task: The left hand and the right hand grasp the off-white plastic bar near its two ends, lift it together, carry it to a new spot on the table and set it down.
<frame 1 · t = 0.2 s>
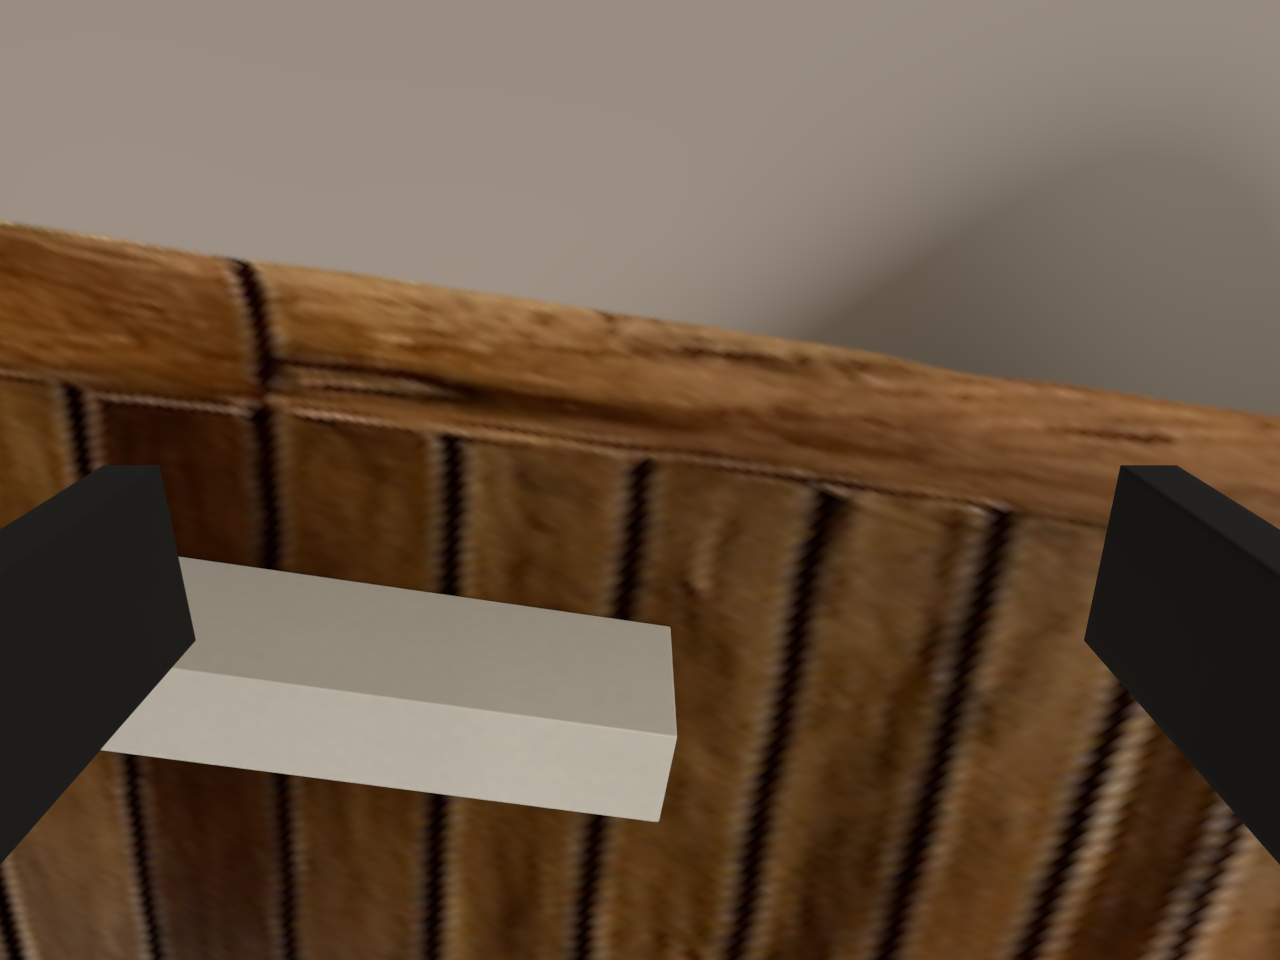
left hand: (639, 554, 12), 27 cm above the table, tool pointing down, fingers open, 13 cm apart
bar: (36, 576, 43), on the table
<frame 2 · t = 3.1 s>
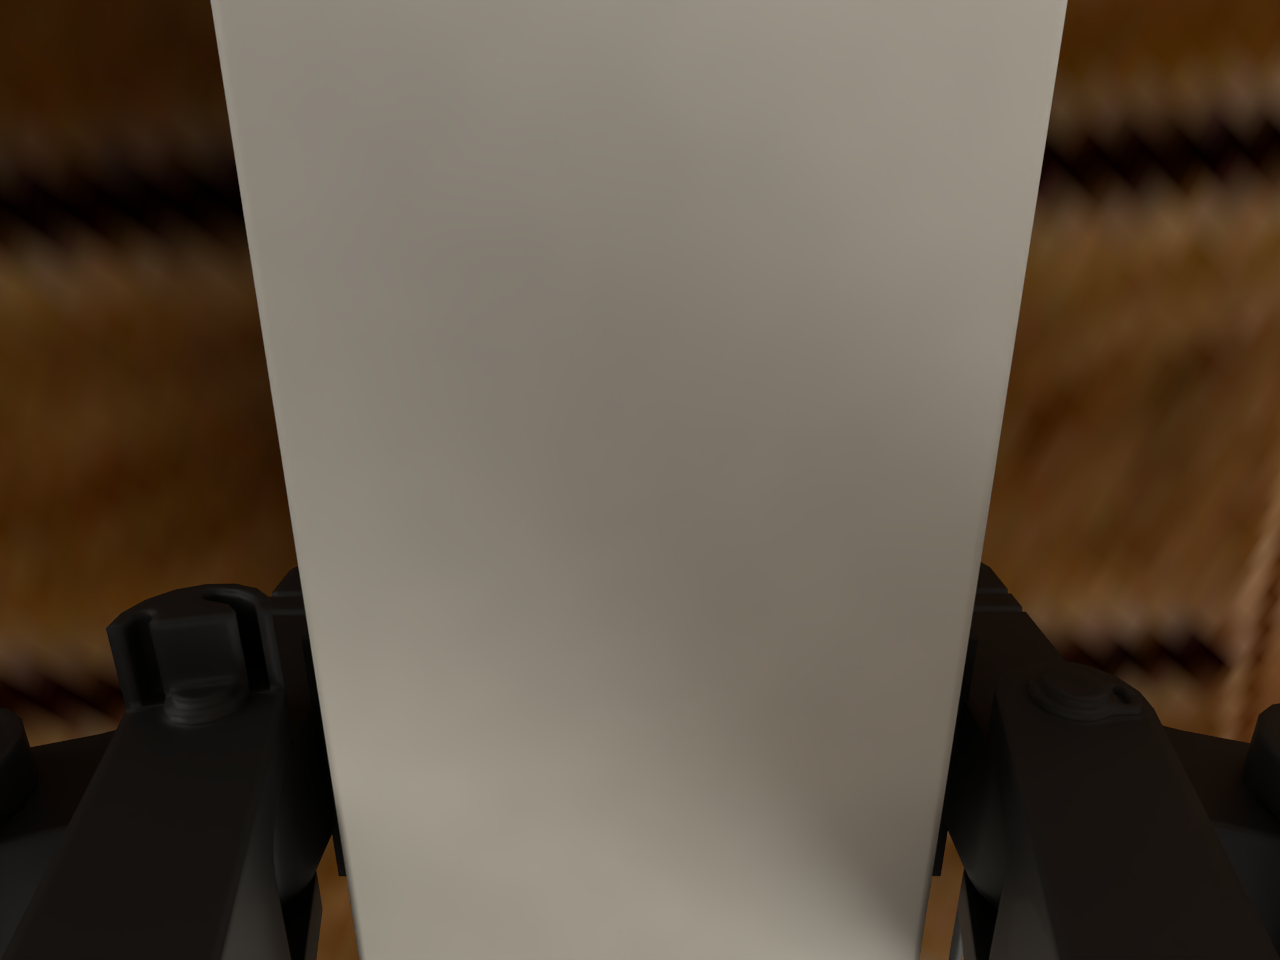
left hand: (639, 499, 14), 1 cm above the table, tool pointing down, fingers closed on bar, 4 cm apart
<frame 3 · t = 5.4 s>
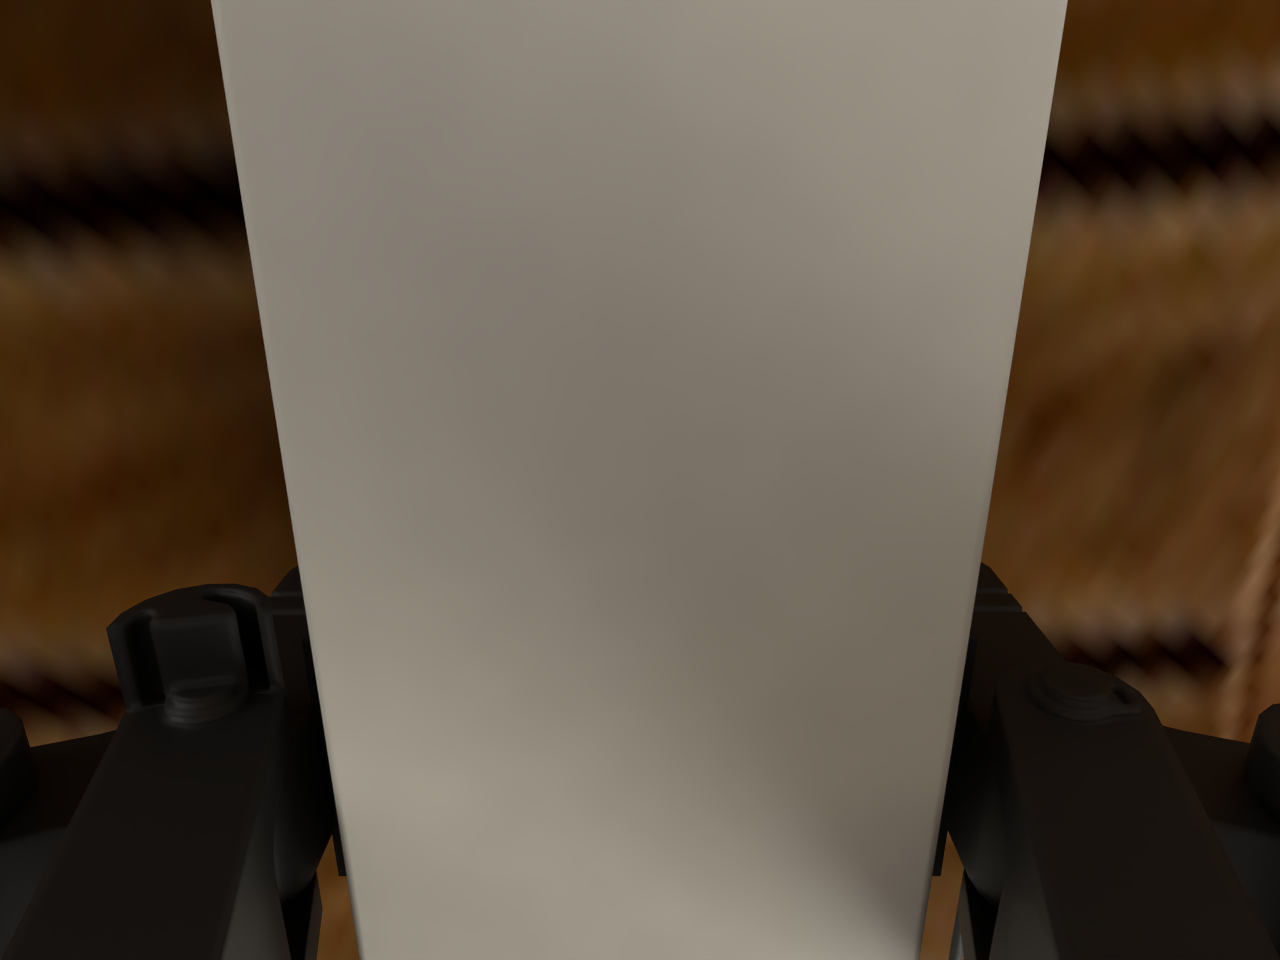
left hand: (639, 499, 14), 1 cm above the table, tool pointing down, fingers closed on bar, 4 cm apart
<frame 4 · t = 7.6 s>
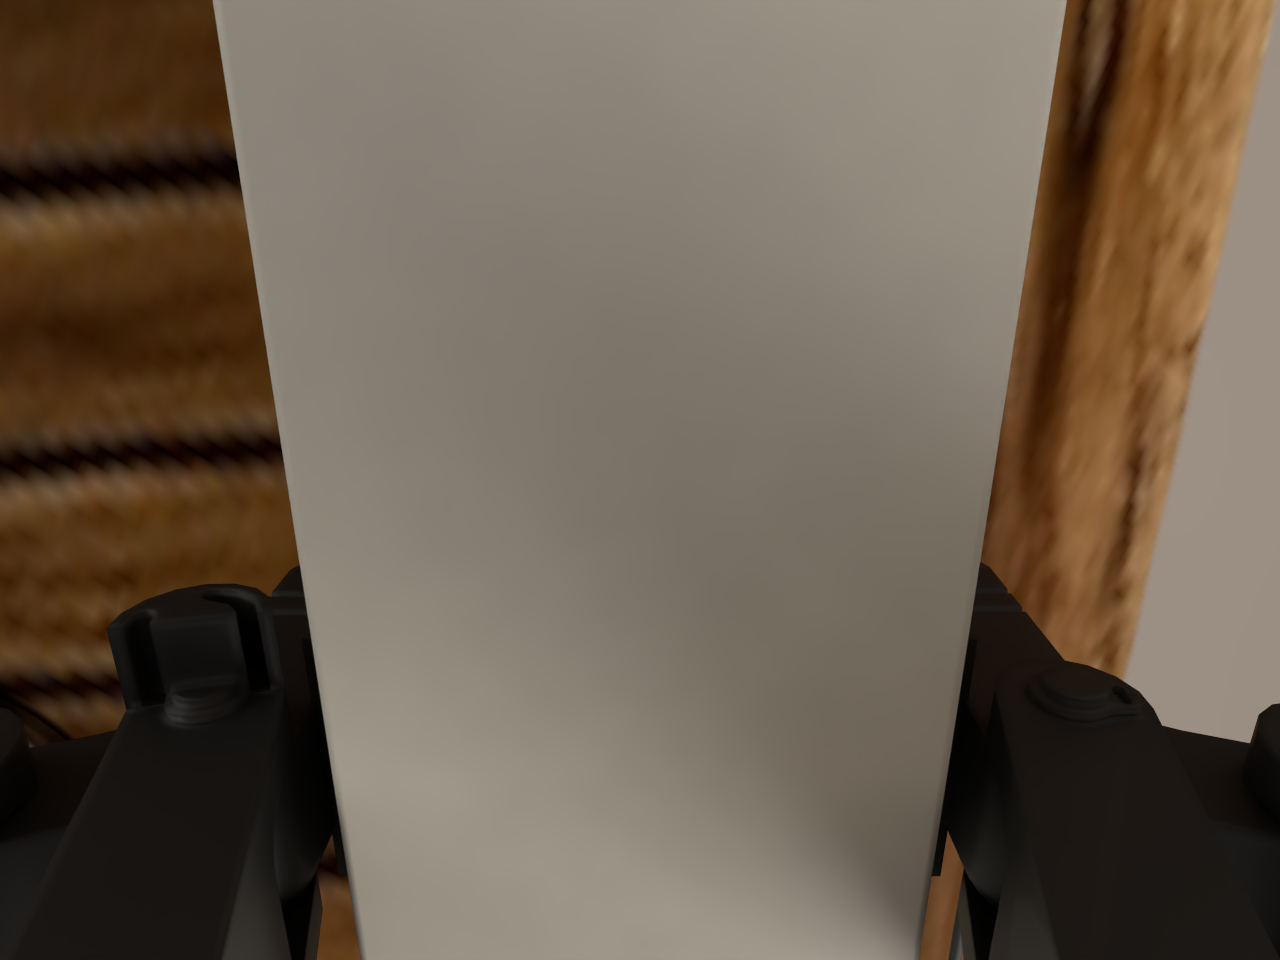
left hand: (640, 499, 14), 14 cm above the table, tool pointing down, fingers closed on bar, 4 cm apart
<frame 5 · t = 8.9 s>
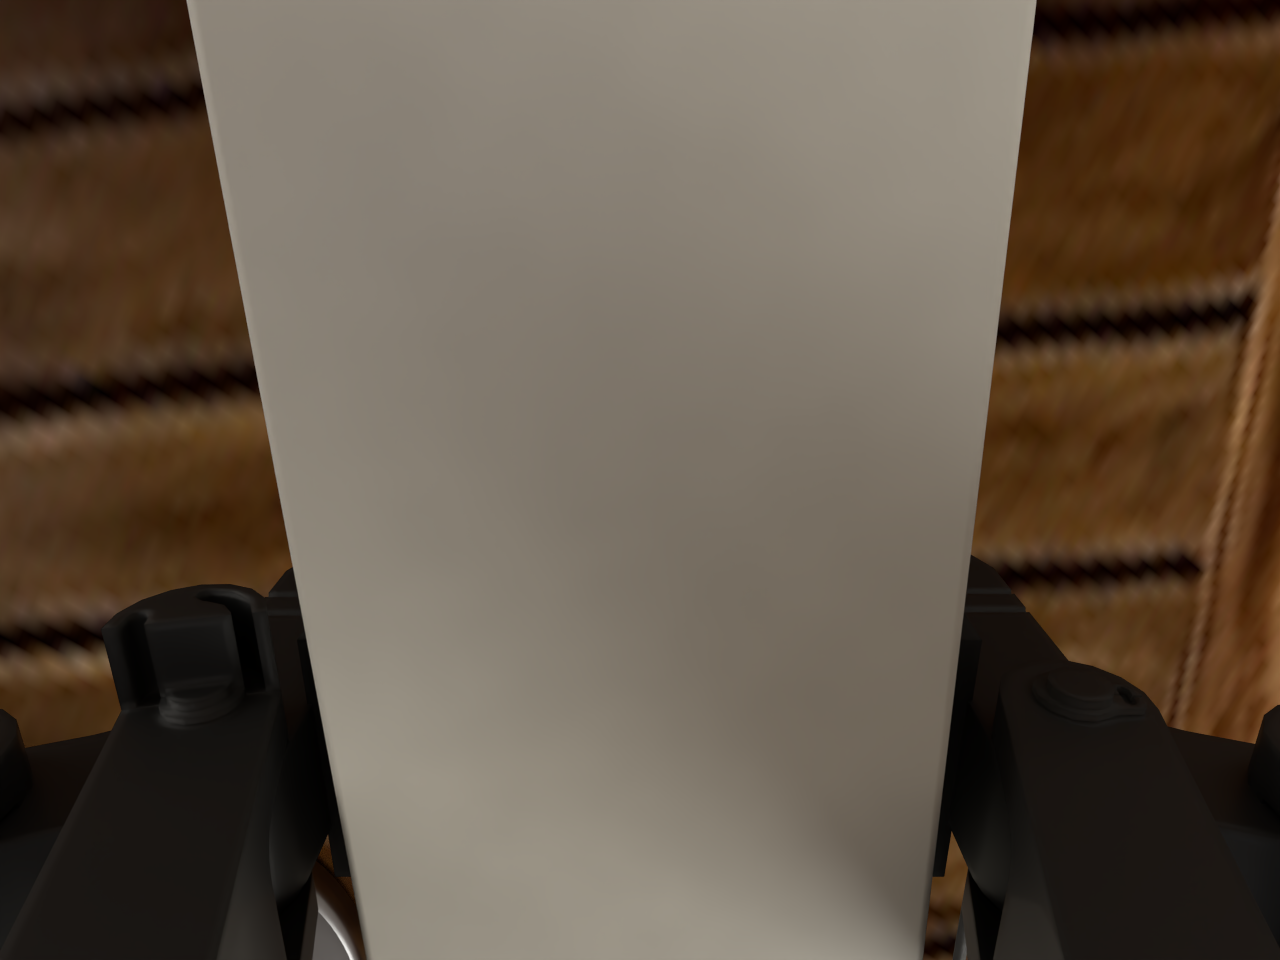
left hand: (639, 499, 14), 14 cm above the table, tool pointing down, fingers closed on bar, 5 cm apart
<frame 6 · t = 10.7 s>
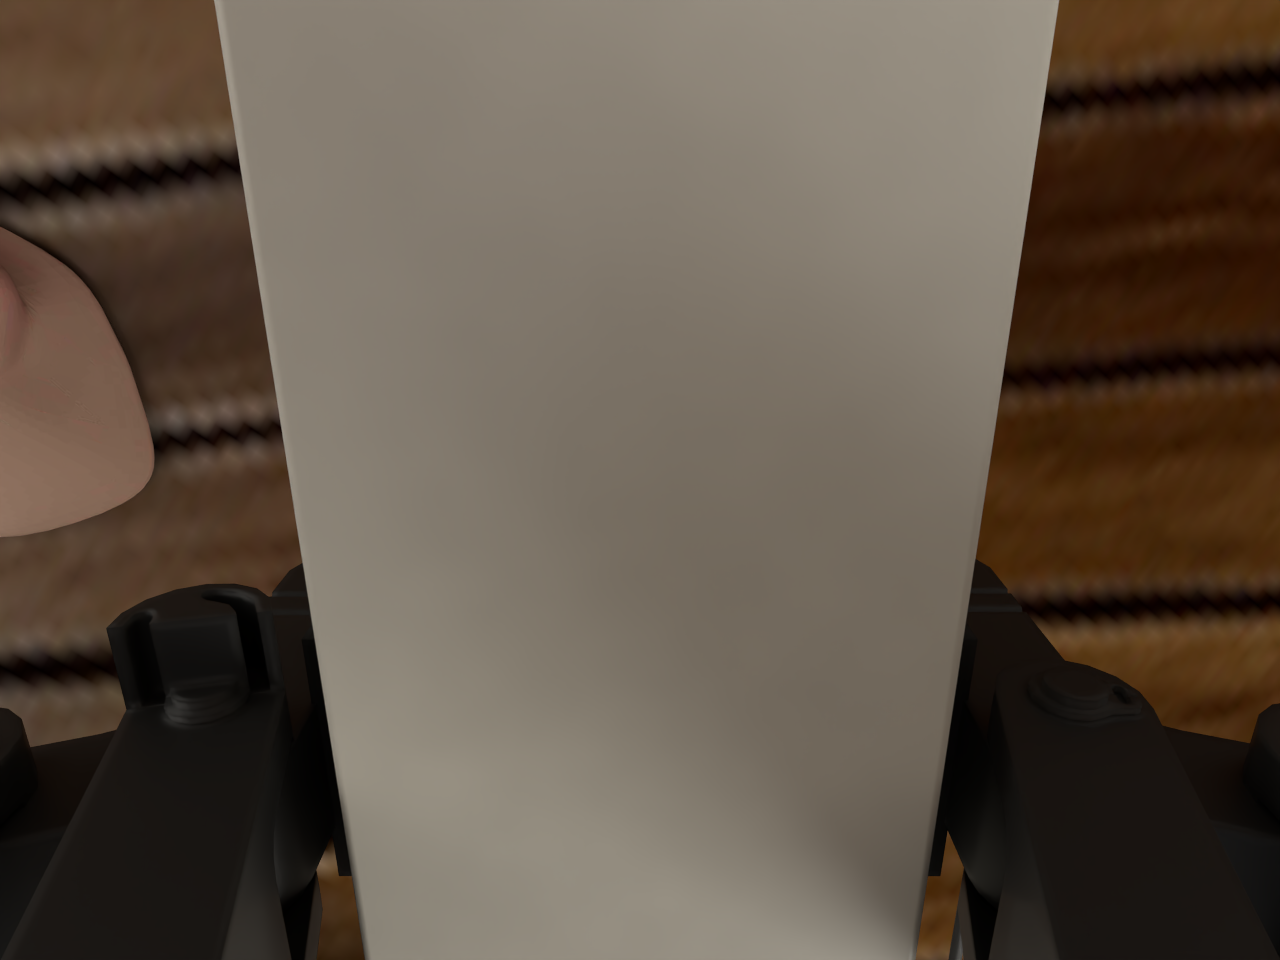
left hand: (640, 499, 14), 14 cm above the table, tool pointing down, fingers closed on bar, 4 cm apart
when the left hand's fingers open (2 cm above the table, at t = 12.4 s): bar drops 1 cm, on the table.
when the right hand's fingers open (2 cm above the table, at t = 12.4 s): bar drops 1 cm, on the table.
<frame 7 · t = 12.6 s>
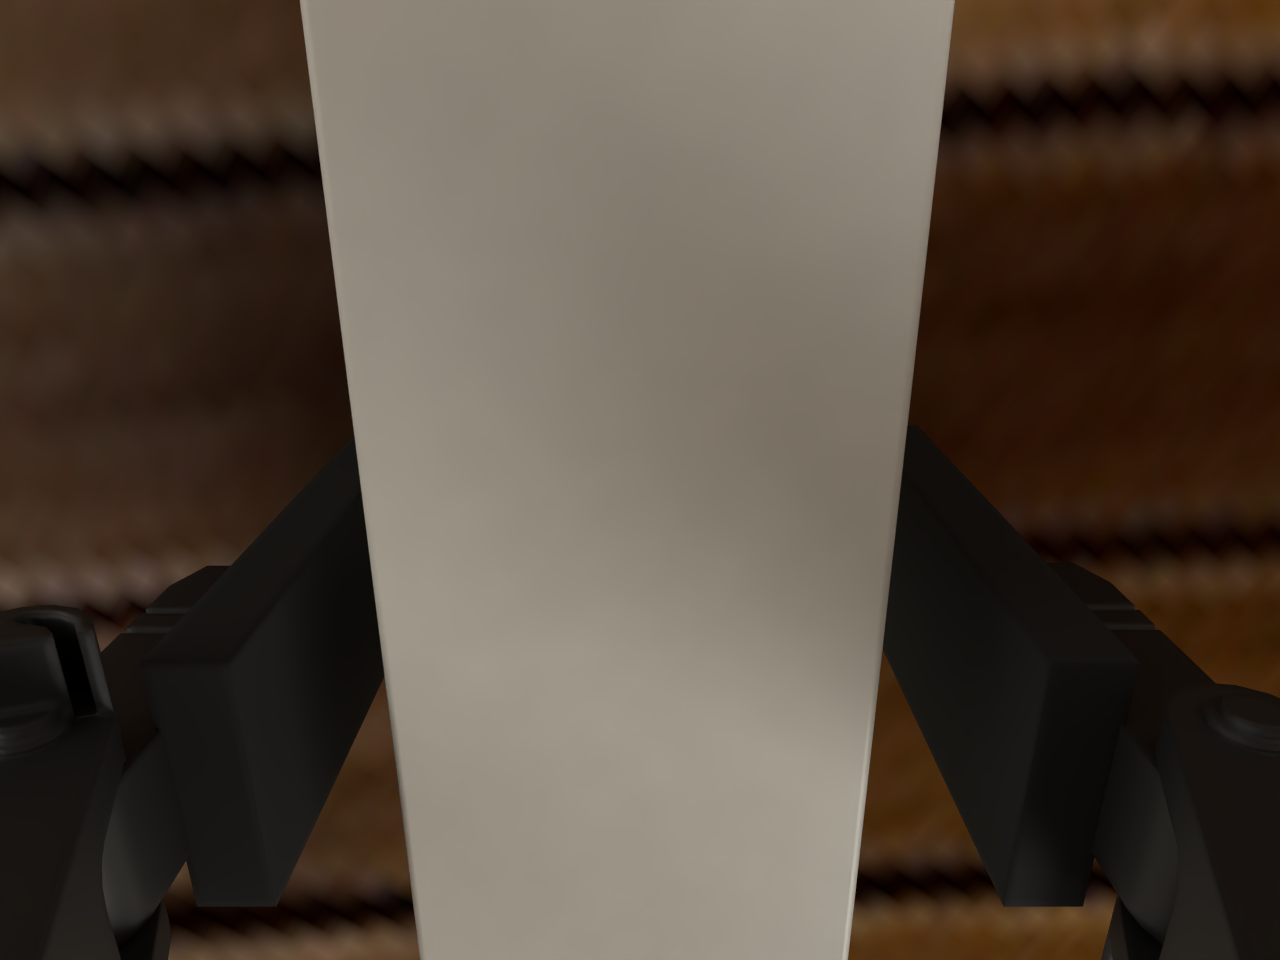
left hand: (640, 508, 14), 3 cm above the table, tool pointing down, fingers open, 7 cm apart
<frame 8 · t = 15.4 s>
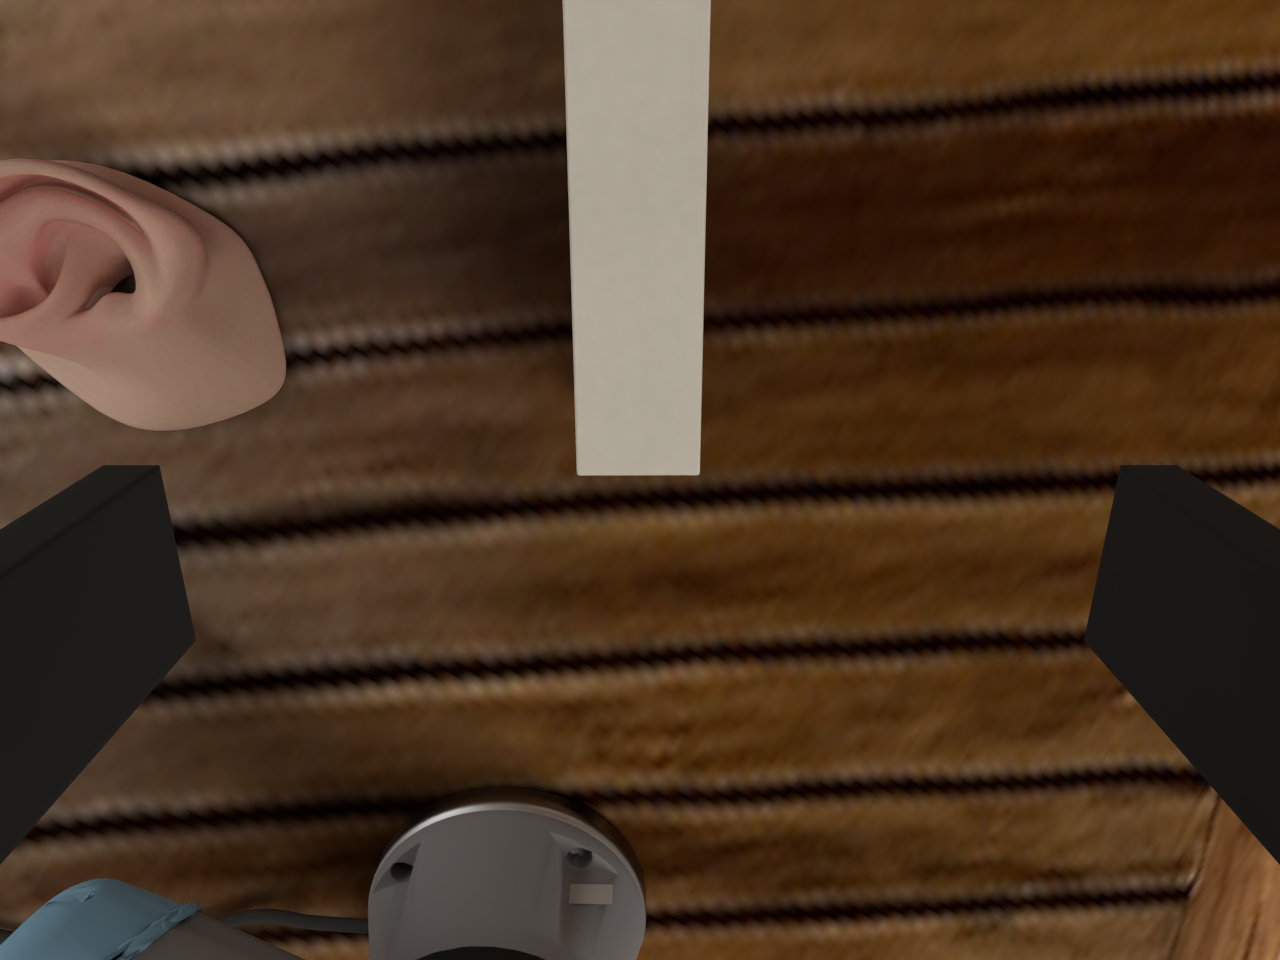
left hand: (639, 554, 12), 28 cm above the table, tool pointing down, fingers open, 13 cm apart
anatomical model: (133, 297, 39), on the table
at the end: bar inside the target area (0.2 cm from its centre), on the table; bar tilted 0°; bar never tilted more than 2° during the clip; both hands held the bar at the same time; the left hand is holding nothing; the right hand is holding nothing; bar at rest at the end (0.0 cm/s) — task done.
